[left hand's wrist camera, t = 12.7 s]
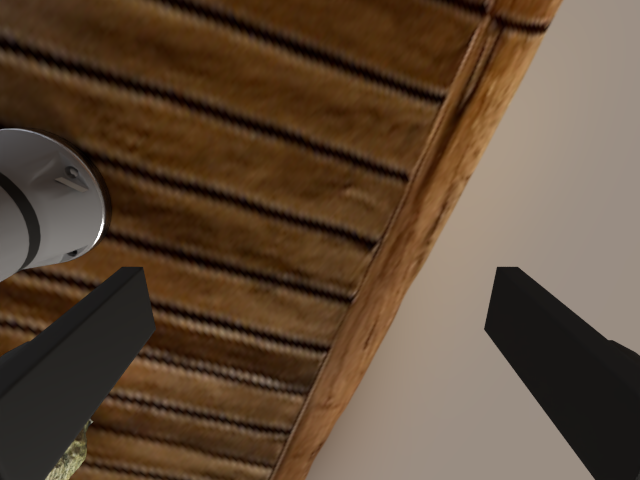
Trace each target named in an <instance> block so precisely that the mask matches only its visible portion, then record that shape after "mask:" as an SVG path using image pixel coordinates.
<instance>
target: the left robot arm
mask: <svg viewBox="0 0 640 480" xmlns="http://www.w3.org/2000/svg"><path fill="white" fill-rule="evenodd" d="M111 214H112V211H111V200H110V195H109V192H108V189H107V186H106V184H105V182H104V180H103V178H102V176H101V174H100V173H99V171H98V169H97V168H96V167H95V165H94V164H93V163H92V162H91V161H90V159H89V158H88V157H87V156H86V155H85V154H84V153H83V152H81V151H80V150H79V149H78V148H77V147H75V146H74V145H73V144H71V143H70V142H68V141H66V140H65V139H63V138H61V137H59V136H57V135H54V134H52V133H50V132H46V131H43V130H39V129H33V128H11V129H0V282H1V281H3V280H4V279H6V278H8V277H10V276H11V275H13V274H15V273H17V272H18V271H20V270H22V269H27V268H33V267H39V266H45V265H51V264H57V263H62V262H67V261H71V260H73V259H76V258H78V257H80V256H82V255H83V254H85V253H87V252H88V251H90V250H91V249H93V248H94V247H96V246H97V245H98V244H99V243H100V242H101V240H102V239H103V238H104V236H105V235H106V233H107V231H108V228H109V225H110V221H111ZM155 330H156V328H155V323H154V318H153V313H152V308H151V303H150V299H149V294H148V289H147V284H146V279H145V275H144V270H143V267H122V268H120V269H119V270H118V271H117V272H115V273H114V274H113V275H112V276H110V277H109V278H108V279H107V280H105V281H104V282H103V283H102V284H101V285H99V286H98V287H97V288H96V289H94V290H93V291H92V292H91V293H89V294H88V295H87V296H86V297H85V298H83V299H82V300H81V301H80V302H78V303H77V304H76V305H75V306H73V307H72V308H71V309H70V310H68V311H67V312H66V313H65V314H64V315H62V316H61V317H60V318H59V319H57V320H56V321H55V322H54V323H52V324H51V325H50V326H49V327H47V328H46V329H45V330H44V331H43V332H41V333H40V334H39V335H38V336H36V337H35V338H34V339H33V340H31V341H30V342H26V343H24V344H22V345H20V346H18V347H16V348H15V349H13V350H11V351H9V352H7V353H5V354H4V355H3V356H1V357H0V480H45V479H46V477H47V476H48V475H49V473H50V472H51V471H52V469H53V468H54V467H55V465H56V464H57V463H58V461H59V460H60V458H61V457H62V456H63V454H64V453H65V452H66V450H67V449H68V448H69V446H70V445H71V444H72V442H73V441H74V440H75V438H76V437H77V435H78V434H79V433H80V431H81V430H82V429H83V427H84V426H85V425H86V423H87V422H88V421H89V419H90V418H91V416H92V415H93V414H94V412H95V411H96V410H97V408H98V407H99V406H100V404H101V403H102V402H103V400H104V399H105V397H106V396H107V395H108V393H109V392H110V391H111V389H112V388H113V387H114V385H115V384H116V383H117V381H118V380H119V378H120V377H121V376H122V374H123V373H124V372H125V370H126V369H127V368H128V366H129V365H130V364H131V362H132V361H133V360H134V358H135V357H136V355H137V354H138V353H139V351H140V350H141V349H142V347H143V346H144V345H145V343H146V342H147V341H148V339H149V338H150V336H151V335H152V334H153V332H154V331H155ZM484 330H485V331H486V332H487V334H488V335H489V336H490V338H491V339H492V341H493V342H494V343H495V345H496V346H497V347H498V349H499V350H500V351H501V353H502V354H503V355H504V357H505V358H506V359H507V361H508V362H509V363H510V365H511V366H512V368H513V369H514V370H515V372H516V373H517V374H518V376H519V377H520V378H521V380H522V381H523V383H524V384H525V385H526V387H527V388H528V389H529V391H530V392H531V393H532V395H533V396H534V397H535V399H536V400H537V402H538V403H539V404H540V406H541V407H542V408H543V410H544V411H545V412H546V414H547V415H548V416H549V418H550V419H551V420H552V422H553V423H554V425H555V426H556V427H557V429H558V430H559V431H560V433H561V434H562V435H563V437H564V438H565V439H566V441H567V442H568V443H569V445H570V446H571V448H572V449H573V450H574V452H575V453H576V454H577V456H578V457H579V458H580V460H581V461H582V463H583V464H584V465H585V467H586V468H587V469H588V471H589V472H590V473H591V475H592V476H593V477H594V479H595V480H640V356H639V355H638V354H637V353H636V352H634V351H632V350H630V349H628V348H626V347H624V346H622V345H621V344H619V343H617V342H615V341H613V340H607V339H606V338H605V337H604V336H602V335H601V334H600V333H599V332H597V331H596V330H595V329H594V328H593V327H591V326H590V325H589V324H588V323H586V322H585V321H584V320H583V319H581V318H580V317H579V316H578V315H576V314H575V313H574V312H573V311H572V310H570V309H569V308H568V307H566V306H565V305H564V304H563V303H562V302H560V301H559V300H558V299H557V298H555V297H554V296H553V295H552V294H551V293H549V292H548V291H547V290H546V289H544V288H543V287H542V286H541V285H539V284H538V283H537V282H536V281H535V280H533V279H532V278H531V277H530V276H528V275H527V274H526V273H525V272H523V271H522V270H521V269H520V268H518V267H497V270H496V275H495V279H494V284H493V289H492V294H491V299H490V303H489V308H488V313H487V318H486V323H485V328H484Z"/></svg>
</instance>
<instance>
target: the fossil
mask: <svg viewBox="0 0 640 480" xmlns="http://www.w3.org/2000/svg"><path fill="white" fill-rule="evenodd" d="M92 422H93V421H92V420H91V419H89V421H88V422H87V423H86V425H85V426H84V427H83V429H82V430H81V431H80V433H79V434H78V435H77V437H76V438H75V440H74V441H73V442H72V444H71V445H70V446H69V448H68V449H67V450H66V452H65V453H64V454H63V456H62V457H61V458H60V460H59V461H58V463H57V464H56V465H55V467H54V468H53V469H52V471H51V472H50V473H49V475H48V476H47V477H46V479H45V480H68V479H69V478H70V477H71V475H72V474H73V473H74V472H75V471H76V470H77V469H78V468H79V466H80V465H81V464H82V462H83V461H84V460H85V458H86V453H87V445H86V443H87V438H86V434H85V433H86V431H87V429H88V427H89V425H90V424H91V423H92Z"/></svg>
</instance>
